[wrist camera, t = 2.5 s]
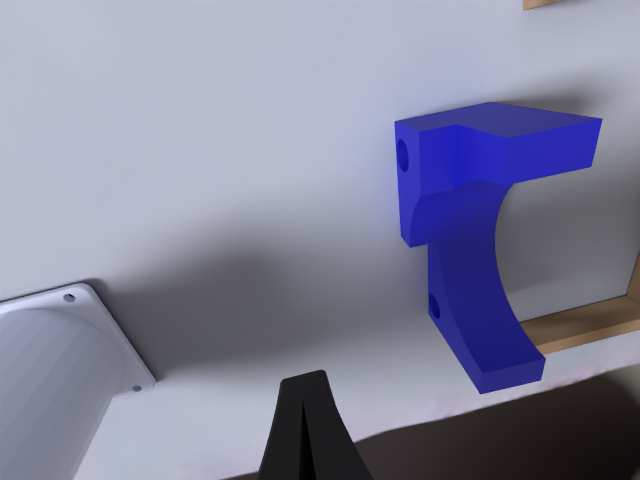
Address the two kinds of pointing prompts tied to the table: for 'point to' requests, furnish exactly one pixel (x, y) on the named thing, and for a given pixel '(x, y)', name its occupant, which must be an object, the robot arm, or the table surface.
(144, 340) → the table surface
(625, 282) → the table surface
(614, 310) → the frame
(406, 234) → the blue curved bracket
